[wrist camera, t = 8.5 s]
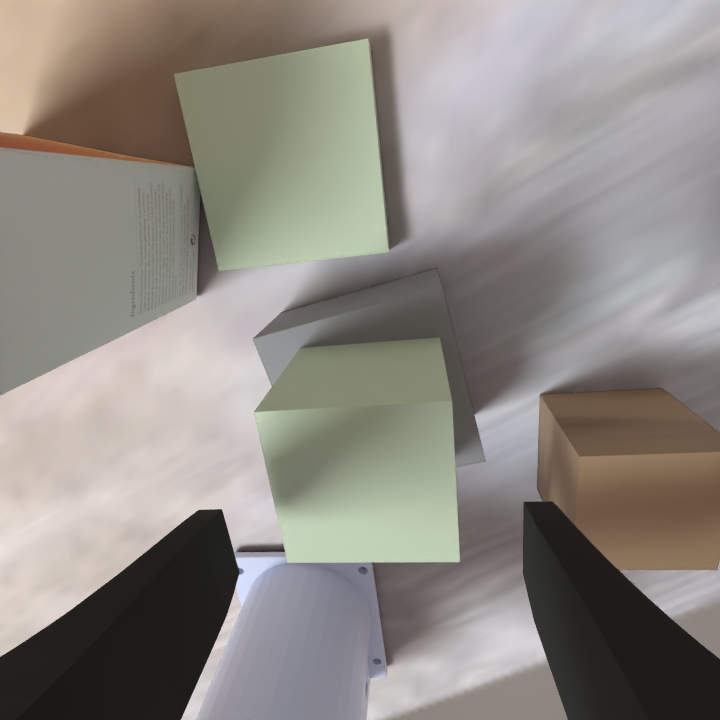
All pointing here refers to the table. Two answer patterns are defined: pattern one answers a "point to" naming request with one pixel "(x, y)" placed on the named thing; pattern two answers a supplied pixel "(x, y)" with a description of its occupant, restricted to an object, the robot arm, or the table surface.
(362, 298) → the charcoal base block
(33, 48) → the table surface
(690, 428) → the walnut block
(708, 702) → the robot arm
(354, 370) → the sage green block
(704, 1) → the table surface
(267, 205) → the sage green tile
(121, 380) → the table surface
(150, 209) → the small box
